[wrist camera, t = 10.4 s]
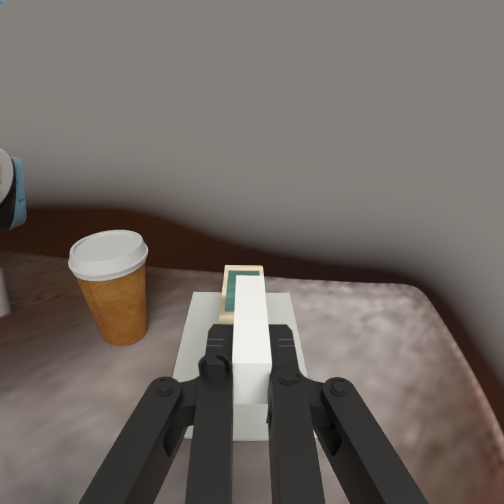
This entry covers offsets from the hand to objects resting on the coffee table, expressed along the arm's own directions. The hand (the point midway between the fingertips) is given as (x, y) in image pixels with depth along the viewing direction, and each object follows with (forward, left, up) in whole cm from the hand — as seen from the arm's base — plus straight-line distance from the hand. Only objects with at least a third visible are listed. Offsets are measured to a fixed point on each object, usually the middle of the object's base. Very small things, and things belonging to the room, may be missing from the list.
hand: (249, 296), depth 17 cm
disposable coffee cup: (-20, -6, -15) cm, 26 cm away
